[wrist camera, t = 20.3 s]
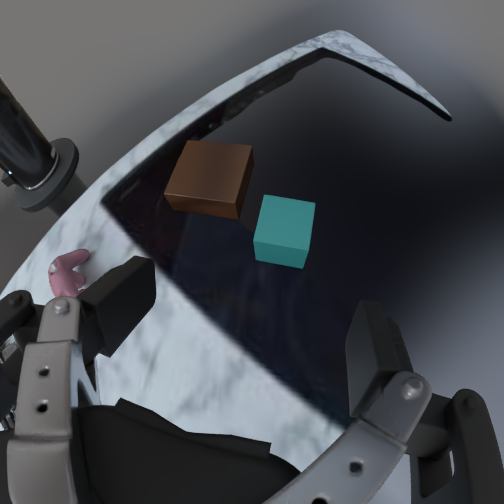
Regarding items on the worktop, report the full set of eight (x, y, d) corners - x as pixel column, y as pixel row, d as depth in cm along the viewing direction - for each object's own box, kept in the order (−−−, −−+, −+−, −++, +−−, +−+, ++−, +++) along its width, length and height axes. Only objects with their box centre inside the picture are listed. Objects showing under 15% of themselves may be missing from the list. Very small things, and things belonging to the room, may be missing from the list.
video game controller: (78, 269, 36) (38, 269, 29) (89, 246, 35) (47, 243, 28) (107, 323, 33) (64, 329, 26) (120, 300, 31) (74, 304, 25)
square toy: (255, 260, 33) (253, 240, 28) (265, 218, 35) (264, 194, 30) (302, 268, 32) (308, 250, 27) (309, 226, 34) (315, 202, 29)
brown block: (173, 210, 36) (163, 193, 33) (194, 158, 39) (187, 140, 36) (238, 220, 35) (235, 203, 31) (254, 164, 38) (252, 145, 35)
